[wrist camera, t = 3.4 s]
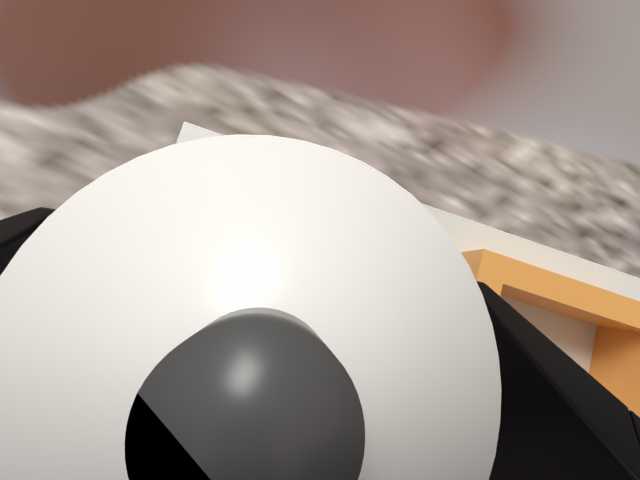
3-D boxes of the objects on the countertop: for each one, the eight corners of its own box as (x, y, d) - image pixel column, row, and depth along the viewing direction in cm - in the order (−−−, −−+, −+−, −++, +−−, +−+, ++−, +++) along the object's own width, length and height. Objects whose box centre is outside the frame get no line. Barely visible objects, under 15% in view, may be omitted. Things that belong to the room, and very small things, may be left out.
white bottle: (306, 378, 14) (517, 977, 2) (191, 345, 13) (-455, 867, 1) (339, 266, 14) (646, 202, 3) (231, 231, 14) (11, -34, 2)
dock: (584, 542, 16) (673, 617, 12) (81, 413, 13) (16, 459, 10) (628, 281, 17) (716, 281, 14) (190, 131, 15) (166, 88, 12)
